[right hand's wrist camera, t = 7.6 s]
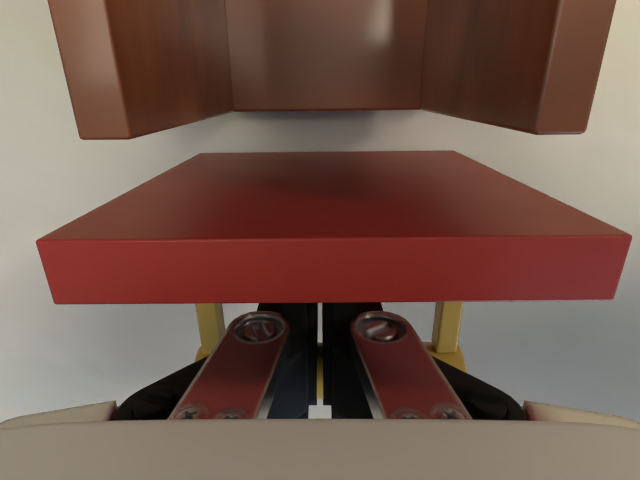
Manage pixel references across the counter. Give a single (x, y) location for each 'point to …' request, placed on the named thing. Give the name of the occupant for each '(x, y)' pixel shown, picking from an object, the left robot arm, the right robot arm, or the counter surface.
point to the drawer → (332, 157)
